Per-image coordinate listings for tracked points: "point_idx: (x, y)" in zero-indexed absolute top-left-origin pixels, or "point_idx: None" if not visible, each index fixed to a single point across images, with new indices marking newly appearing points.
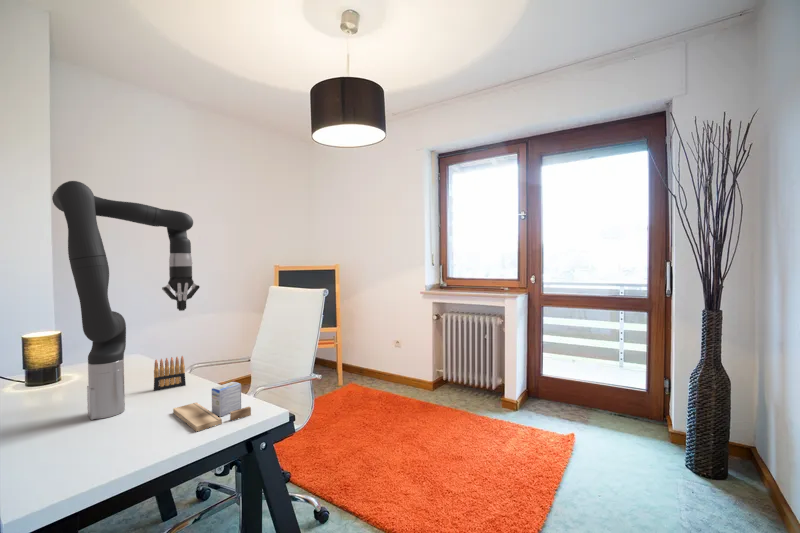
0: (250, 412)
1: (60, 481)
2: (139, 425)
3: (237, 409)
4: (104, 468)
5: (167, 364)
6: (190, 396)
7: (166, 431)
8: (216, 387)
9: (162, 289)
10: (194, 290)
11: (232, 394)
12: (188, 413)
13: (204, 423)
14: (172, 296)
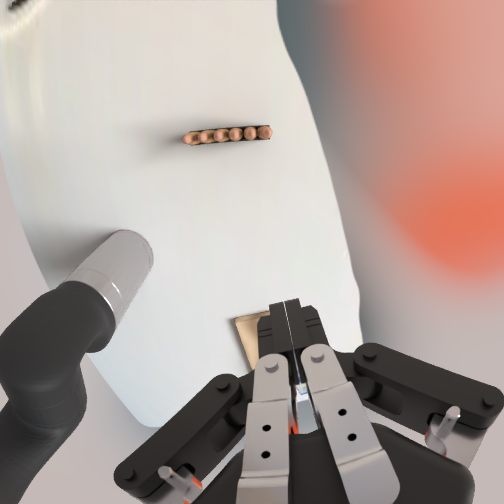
0: None
1: (152, 407)
2: (190, 337)
3: None
4: (179, 408)
5: (221, 140)
6: (270, 241)
7: (227, 372)
8: (301, 385)
9: (124, 468)
10: (425, 424)
11: None
12: (256, 354)
13: None
14: (222, 434)
